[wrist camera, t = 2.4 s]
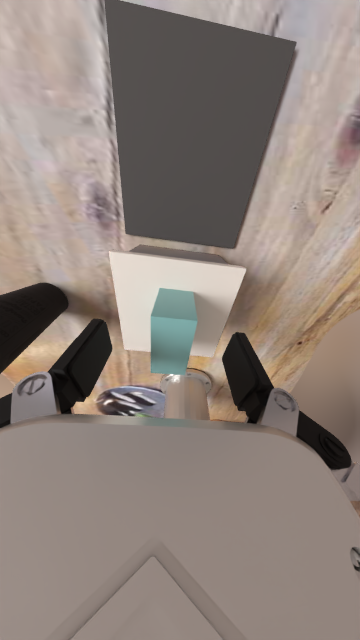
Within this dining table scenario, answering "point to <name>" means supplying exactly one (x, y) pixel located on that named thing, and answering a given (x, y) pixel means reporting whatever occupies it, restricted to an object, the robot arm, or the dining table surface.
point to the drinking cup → (27, 318)
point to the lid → (172, 305)
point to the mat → (190, 119)
